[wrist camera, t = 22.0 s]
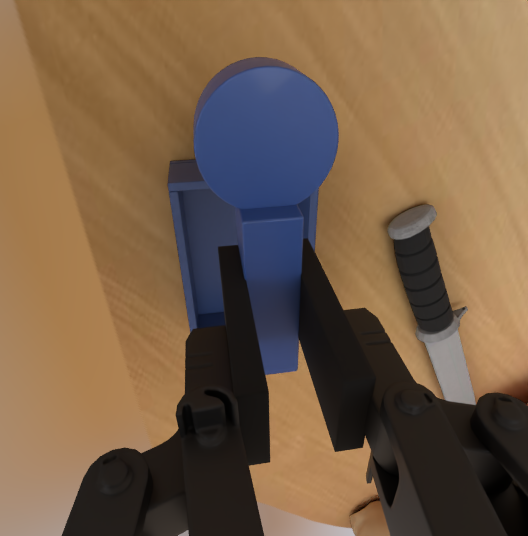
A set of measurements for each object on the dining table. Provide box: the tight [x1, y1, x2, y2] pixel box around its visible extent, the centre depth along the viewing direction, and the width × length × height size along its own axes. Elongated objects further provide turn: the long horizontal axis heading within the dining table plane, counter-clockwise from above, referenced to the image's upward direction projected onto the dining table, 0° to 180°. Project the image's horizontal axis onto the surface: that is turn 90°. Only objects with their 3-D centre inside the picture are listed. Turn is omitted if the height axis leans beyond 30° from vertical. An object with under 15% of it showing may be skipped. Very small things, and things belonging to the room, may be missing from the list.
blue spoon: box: [194, 57, 339, 375], centre depth 13 cm, size 10×4×3 cm, turn 1°
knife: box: [388, 205, 476, 405], centre depth 37 cm, size 29×3×5 cm
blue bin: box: [168, 160, 319, 333], centre depth 28 cm, size 12×8×4 cm
